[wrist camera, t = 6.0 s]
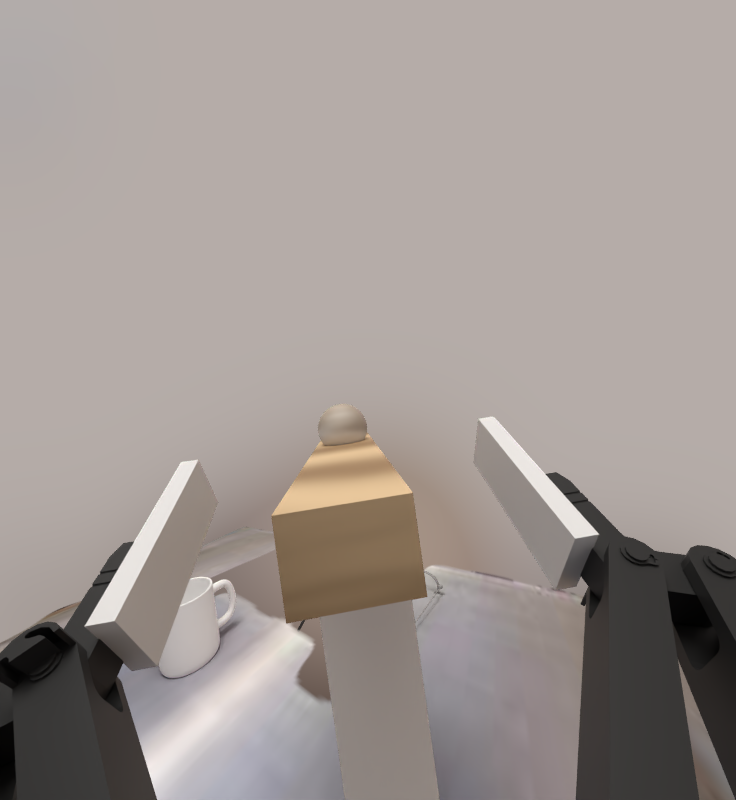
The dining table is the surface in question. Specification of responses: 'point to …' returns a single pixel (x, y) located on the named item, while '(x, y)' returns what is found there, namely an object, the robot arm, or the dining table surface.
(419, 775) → the pedestal
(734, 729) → the robot arm
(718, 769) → the dining table surface
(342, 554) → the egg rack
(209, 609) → the cup
